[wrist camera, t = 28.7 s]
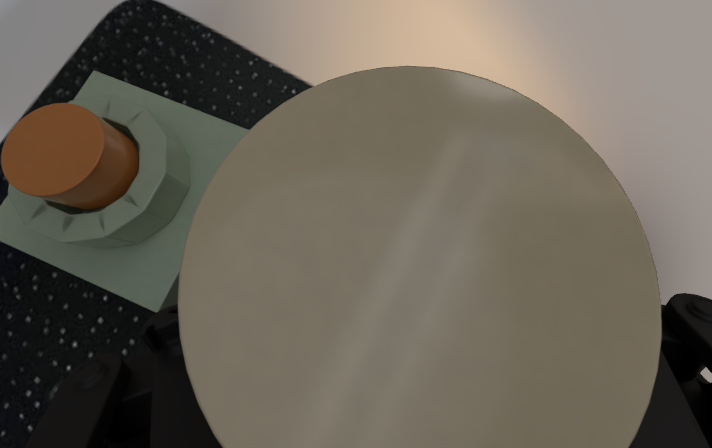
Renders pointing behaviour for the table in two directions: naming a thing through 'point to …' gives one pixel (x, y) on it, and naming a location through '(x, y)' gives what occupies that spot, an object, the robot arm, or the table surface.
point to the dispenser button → (69, 157)
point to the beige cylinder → (418, 276)
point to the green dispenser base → (129, 198)
